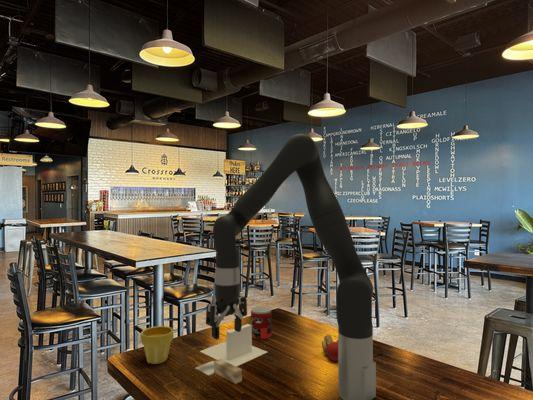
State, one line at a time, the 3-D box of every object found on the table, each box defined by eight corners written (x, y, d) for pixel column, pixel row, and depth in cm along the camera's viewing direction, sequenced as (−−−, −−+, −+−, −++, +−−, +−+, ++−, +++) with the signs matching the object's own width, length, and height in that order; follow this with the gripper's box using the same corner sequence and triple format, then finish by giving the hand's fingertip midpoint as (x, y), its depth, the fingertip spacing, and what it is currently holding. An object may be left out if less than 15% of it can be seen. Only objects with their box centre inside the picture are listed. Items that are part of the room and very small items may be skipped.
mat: (267, 353, 127) (267, 351, 127) (233, 369, 116) (233, 367, 116) (233, 339, 140) (233, 338, 140) (199, 352, 128) (199, 351, 128)
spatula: (247, 379, 109) (247, 366, 109) (229, 388, 104) (229, 374, 104) (212, 362, 121) (212, 350, 120) (195, 369, 115) (194, 357, 115)
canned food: (248, 335, 144) (248, 307, 144) (266, 332, 147) (266, 305, 147) (255, 342, 137) (255, 313, 137) (274, 339, 140) (274, 310, 140)
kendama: (315, 346, 137) (323, 361, 119) (318, 329, 138) (326, 341, 120) (336, 350, 137) (346, 365, 119) (338, 332, 137) (349, 345, 120)
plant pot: (158, 350, 130) (158, 323, 130) (179, 357, 124) (179, 328, 124) (134, 362, 121) (134, 332, 121) (156, 369, 116) (156, 339, 115)
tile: (251, 350, 128) (251, 325, 128) (230, 359, 121) (230, 332, 121) (247, 348, 130) (247, 323, 130) (226, 357, 123) (226, 331, 123)
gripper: (216, 287, 102) (216, 345, 102) (252, 279, 112) (252, 331, 112) (200, 283, 107) (200, 338, 107) (236, 275, 117) (236, 325, 118)
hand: (227, 334), depth 110 cm, fingers open, 8 cm apart
